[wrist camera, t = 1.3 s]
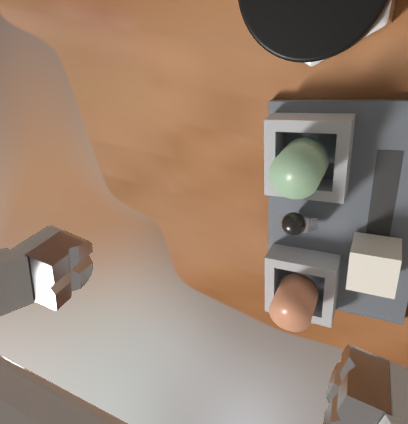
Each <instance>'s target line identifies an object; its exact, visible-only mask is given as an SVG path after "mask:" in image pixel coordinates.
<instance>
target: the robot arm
mask: <svg viewBox="0 0 408 424" xmlns="http://www.w3.org/2000/svg"><path fill="white" fill-rule="evenodd" d="M92 252H93V251H92V243H91V242H90V241H88V240H85V239H83V238H81V237H79V236H76V235H74V234H72V233H69V232H67V231H64V230H62V229H59V228H57V227H55V226H47V227H46V228H44V229H42V230H41V231H39V232H37V233H36V234H34V235H33V236H31V237H29V238H28V239H26V240H25V241H23V242H22V243H20V244H18V245H17V246H15V247H14V248H12V249H8V248H4V249H0V316H2V315H4V314H7V313H9V312H12V311H15V310H17V309H20V308H22V307H25V306H27V305H30V304H32V303H34V301H35V302H37V303H40V304H42V305H44V306H46V307H49V308H51V309H53V310H56V311H57V310H58V309H59V308H60V307H61V306H62V305H63V304H64V303H66V302H67V301H68V300H69V299H70V298H71V295H72V291H74V290H78V289H81V288H82V287H83V286H84V285H85V284H86V283H87V281H88V279H89V278H90V276H91V274H92V269H93V262H92V260H91V258H90V256H89V255H90V254H91V253H92ZM326 398H327V400H328V402H329V406H328V408H327V409H326V411H325V413H324V422H323V424H408V367H405V366H403V365H400V364H398V363H395V362H392V361H390V360H386V359H384V358H382V357H379V356H377V355H374V354H372V353H369V352H366V351H364V350H361V349H359V348H356V347H354V346H351V345H347V346H346V347H345V348H344V350H343V352H342V358H341V362H340V363H337V364H336V366H335V367H334V370H333V372H332V374H331V377H330V380H329V384H328V389H327V396H326ZM0 424H127V423H125V422H124V421H122V420H120V419H118V418H116V417H114V416H112V415H111V414H109V413H107V412H105V411H103V410H101V409H99V408H98V407H96V406H94V405H92V404H90V403H88V402H86V401H84V400H83V399H81V398H79V397H77V396H75V395H73V394H72V393H70V392H68V391H66V390H64V389H62V388H60V387H59V386H57V385H55V384H53V383H51V382H49V381H47V380H46V379H44V378H42V377H40V376H38V375H36V374H35V373H33V372H31V371H29V370H27V369H25V368H23V367H22V366H20V365H18V364H16V363H14V362H12V361H10V360H8V359H6V358H5V357H3V356H1V355H0Z"/></svg>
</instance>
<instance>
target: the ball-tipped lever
mask: <svg viewBox="0 0 408 424" xmlns="http://www.w3.org/2000/svg"><path fill="white" fill-rule="evenodd" d="M318 224H319V217H311V216H304V215H301V214H300V213H297V212H290V213H288V214H286V215H280V222H279V229H283V230H284V232H285V233H287V234H288V235H291V236H296V235H299V234H301V233H302V232H303V233H309V232H312V231H315V230H318Z"/></svg>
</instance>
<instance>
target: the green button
mask: <svg viewBox="0 0 408 424" xmlns="http://www.w3.org/2000/svg"><path fill="white" fill-rule="evenodd" d="M328 165H329V155H328V152H327V150H326V148H325V147H324V145H323V144H322V143H320V142H319V141H317V140H316V139H313V138H309V137H301V138H297V139H295V140H293V141H291V142H290V143H289V144H288V145H287V146H286V147H285V148H284V149H283V150H282V151H281V152H280V154H279V155H278V156H277V157H276V158H275V159H274V160H273V162H272V163H271V166H270V169H269V179H270V182H271V184H272V186H273V188H274V189H275V190H276V191H277V192H278V193H279V194H280V195H282V196H284V197H286V198H289V199H303V198H306V197H308V196H310V195H312V194H313V193H314V192H315V191H316V189H317V188H318V186H319V184H320V182H321V180H322V178H323V176H324V174H325V172H326V170H327V168H328Z"/></svg>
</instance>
